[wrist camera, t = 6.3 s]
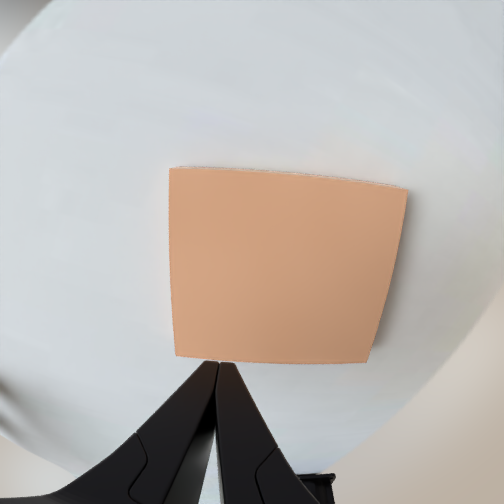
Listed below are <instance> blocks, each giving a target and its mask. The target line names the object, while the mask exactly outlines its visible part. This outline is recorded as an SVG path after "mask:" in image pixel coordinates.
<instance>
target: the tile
mask: <svg viewBox="0 0 504 504" xmlns="http://www.w3.org/2000/svg"><path fill="white" fill-rule="evenodd" d="M407 194H408V190H406V189H403V188H400V187H397V186H393V185H387V184H381V183H374V182H367V181H360V180H353V179H346V178H338V177H329V176H321V175H311V174H302V173H291V172H280V171H267V170H253V169H236V168H215V167H174V168H169V259H170V284H171V303H172V318H173V331H174V343H175V354H176V356H181V357H190V358H200V359H211V360H222V361H236V362H253V363H277V364H344V363H366V362H367V359H368V356H369V354H370V351H371V348H372V345H373V341H374V338H375V335H376V332H377V329H378V325H379V322H380V319H381V315H382V312H383V308H384V305H385V301H386V297H387V294H388V290H389V286H390V282H391V278H392V273H393V269H394V265H395V260H396V256H397V251H398V246H399V241H400V236H401V231H402V225H403V220H404V214H405V208H406V201H407Z"/></svg>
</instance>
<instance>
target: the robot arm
mask: <svg viewBox="0 0 504 504" xmlns="http://www.w3.org/2000/svg"><path fill="white" fill-rule="evenodd" d="M215 432H216V452H217V466H218V479H219V491H220V502H221V504H335V502H334V496H333V491H332V485H331V484H332V483H333V481H334V480H335V478H336V476H335V474H334V473H331V474H320V475H306V476H297V475H296V474H295V473H294V471H293V470H292V468H291V466H290V465H289V463H288V462H287V460H286V459H285V457H284V455H283V453H282V452H281V450H280V448H278V445H277V443H276V441H275V439H274V438H273V436H272V434H271V432H270V430H269V429H268V427H267V425H266V423H265V421H264V419H263V418H262V416H261V414H260V412H259V410H258V408H257V406H256V404H255V402H254V400H253V399H252V397H251V395H250V393H249V391H248V389H247V387H246V385H245V383H244V381H243V379H242V377H241V375H240V373H239V371H238V369H237V367H236V365H235V364H234V363H231V362H220V364H219V362H217V361H204V362H203V363H202V364H201V365H200V366H199V367H198V368H197V369H196V370H195V371H194V372H193V373H192V375H191V376H190V377H189V378H188V379H187V380H186V381H185V382H184V383H183V384H182V385H181V386H180V387H179V388H178V389H177V390H176V391H175V392H174V393H173V394H172V395H171V396H170V397H169V398H168V399H167V400H166V401H165V403H164V404H163V405H162V406H161V407H160V408H159V409H158V410H157V411H156V412H155V413H154V414H153V415H152V416H151V417H150V418H149V419H148V420H147V421H146V422H145V423H144V424H143V425H142V426H141V427H140V428H139V429H138V430H137V431H136V433H133V434H132V435H131V436H130V437H129V438H128V439H127V440H126V441H125V442H124V443H123V444H122V445H121V446H120V447H119V448H118V449H116V450H115V451H114V452H113V453H112V454H110V455H109V456H108V457H107V458H105V459H104V460H103V461H101V462H100V463H99V464H97V465H96V466H94V467H93V468H92V469H90V470H89V471H87V472H86V473H84V474H83V475H81V476H80V477H78V478H77V479H76V480H74V481H73V482H71V483H70V484H68V485H67V486H65V487H63V488H62V489H60V490H58V491H56V492H53V493H50V494H46V495H41V496H32V497H17V498H0V504H198V502H199V498H200V494H201V490H202V486H203V481H204V477H205V473H206V469H207V465H208V461H209V456H210V452H211V448H212V444H213V439H214V434H215Z"/></svg>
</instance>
